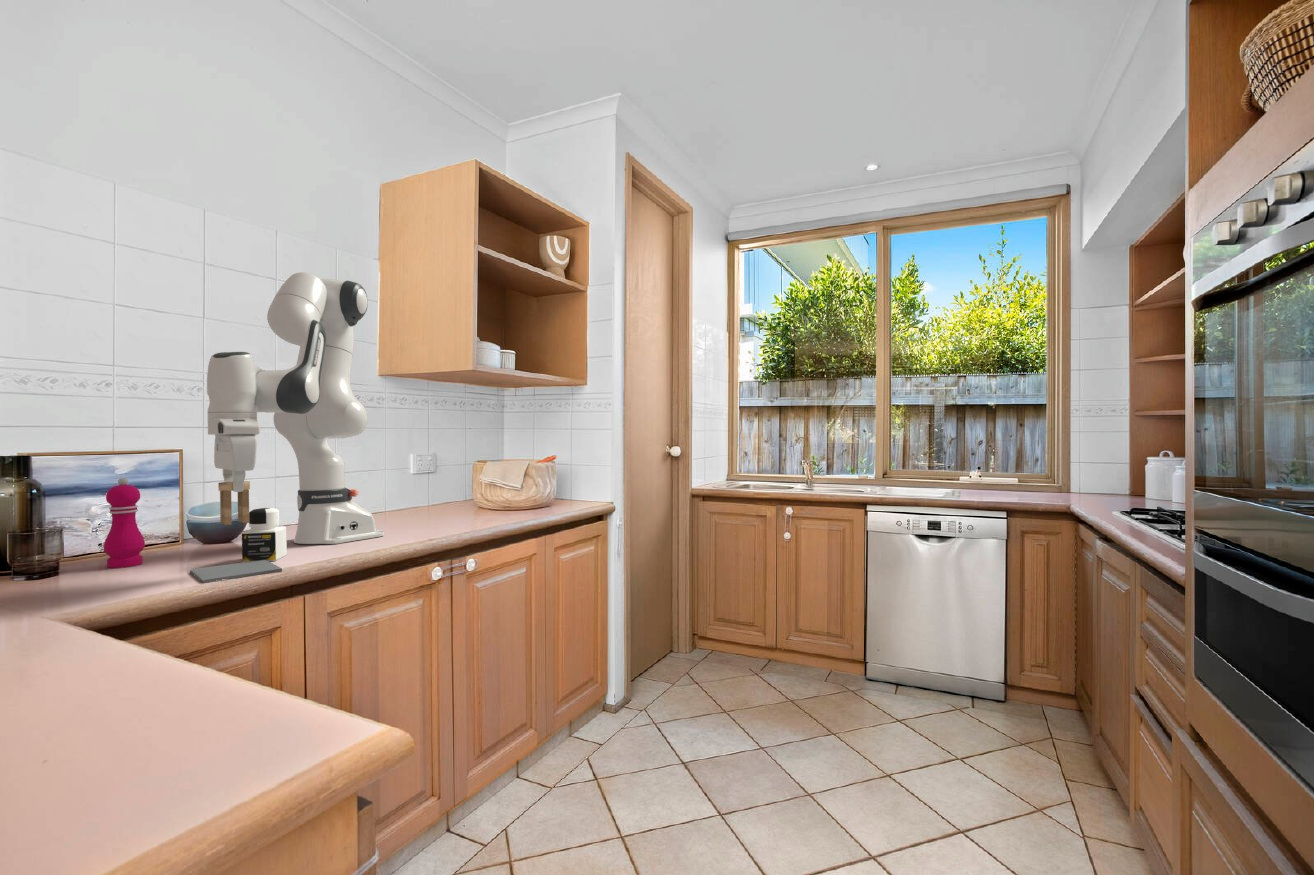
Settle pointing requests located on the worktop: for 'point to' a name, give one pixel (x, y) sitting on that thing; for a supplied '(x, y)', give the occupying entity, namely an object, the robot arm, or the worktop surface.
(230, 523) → the stool
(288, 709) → the worktop surface
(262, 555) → the medicine bottle
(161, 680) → the worktop surface
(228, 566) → the mat
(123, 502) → the pepper mill
